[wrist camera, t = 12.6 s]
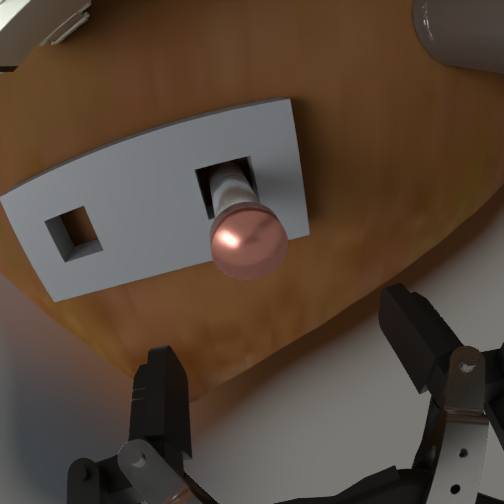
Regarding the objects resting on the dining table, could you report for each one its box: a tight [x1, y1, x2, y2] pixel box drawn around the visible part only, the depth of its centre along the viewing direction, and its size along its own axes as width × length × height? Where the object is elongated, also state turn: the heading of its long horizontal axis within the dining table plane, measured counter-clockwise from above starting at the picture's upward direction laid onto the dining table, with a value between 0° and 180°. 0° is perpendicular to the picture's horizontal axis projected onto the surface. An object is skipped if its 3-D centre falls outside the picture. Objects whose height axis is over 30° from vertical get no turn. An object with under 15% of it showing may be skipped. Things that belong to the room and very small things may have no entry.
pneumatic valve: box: [0, 0, 91, 74], centre depth 11 cm, size 6×12×12 cm, turn 120°
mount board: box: [0, 97, 310, 302], centre depth 25 cm, size 26×12×3 cm, turn 102°
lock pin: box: [209, 161, 288, 281], centre depth 21 cm, size 4×4×12 cm
